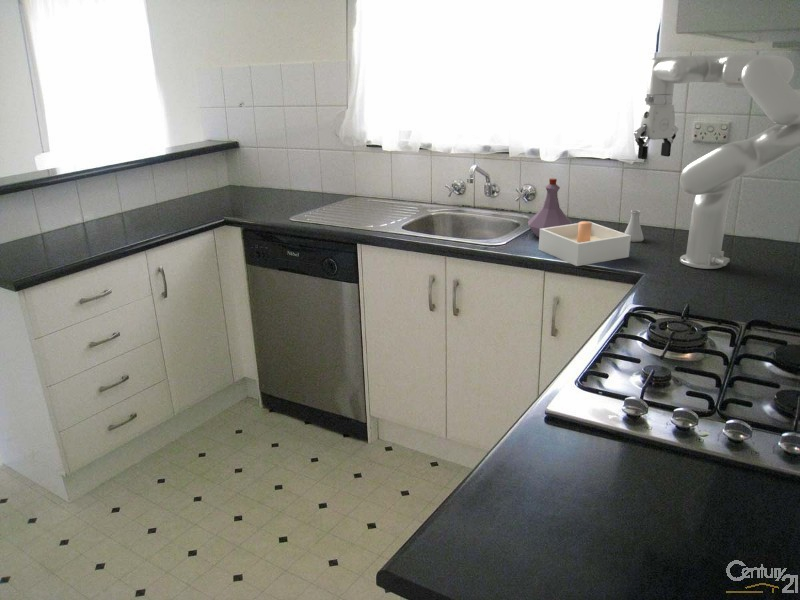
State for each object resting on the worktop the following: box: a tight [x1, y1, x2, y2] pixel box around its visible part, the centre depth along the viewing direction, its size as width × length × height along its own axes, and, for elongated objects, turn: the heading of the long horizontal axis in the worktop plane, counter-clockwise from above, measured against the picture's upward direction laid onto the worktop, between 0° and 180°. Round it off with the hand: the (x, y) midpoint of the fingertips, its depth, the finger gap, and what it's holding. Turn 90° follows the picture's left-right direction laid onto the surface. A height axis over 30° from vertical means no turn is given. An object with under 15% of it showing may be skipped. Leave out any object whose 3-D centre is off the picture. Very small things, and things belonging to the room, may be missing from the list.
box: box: [538, 221, 631, 267], centre depth 216 cm, size 20×20×7 cm
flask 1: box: [527, 178, 573, 238], centre depth 234 cm, size 16×16×20 cm
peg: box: [577, 220, 593, 243], centre depth 215 cm, size 4×4×10 cm
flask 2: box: [624, 209, 645, 243], centre depth 229 cm, size 7×7×10 cm
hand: (653, 157), depth 210 cm, fingers open, 9 cm apart
